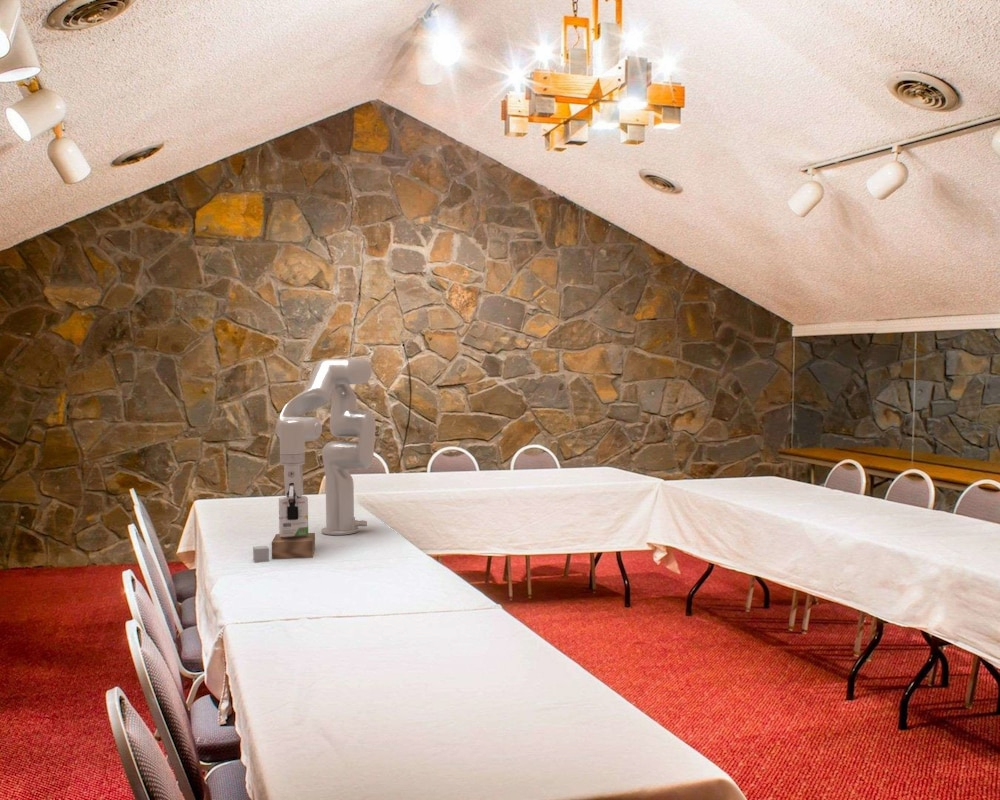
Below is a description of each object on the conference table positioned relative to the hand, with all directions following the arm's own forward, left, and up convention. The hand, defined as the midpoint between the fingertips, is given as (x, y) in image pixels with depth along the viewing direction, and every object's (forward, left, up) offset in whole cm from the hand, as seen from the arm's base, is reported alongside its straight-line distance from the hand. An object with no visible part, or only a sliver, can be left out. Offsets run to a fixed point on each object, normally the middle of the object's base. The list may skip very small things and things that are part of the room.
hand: (293, 517), depth 282 cm
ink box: (0, 0, -6) cm, 6 cm away
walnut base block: (0, 0, -11) cm, 11 cm away
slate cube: (+9, +8, -11) cm, 17 cm away
